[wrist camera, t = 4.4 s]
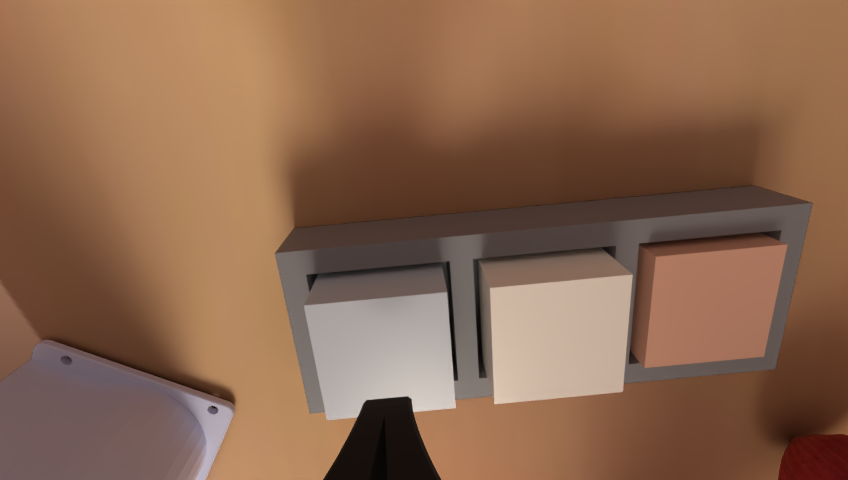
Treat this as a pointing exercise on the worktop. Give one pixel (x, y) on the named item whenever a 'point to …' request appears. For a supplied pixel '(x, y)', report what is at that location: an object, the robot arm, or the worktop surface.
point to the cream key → (554, 324)
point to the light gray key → (381, 337)
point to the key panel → (536, 233)
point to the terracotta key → (705, 298)
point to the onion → (815, 458)
